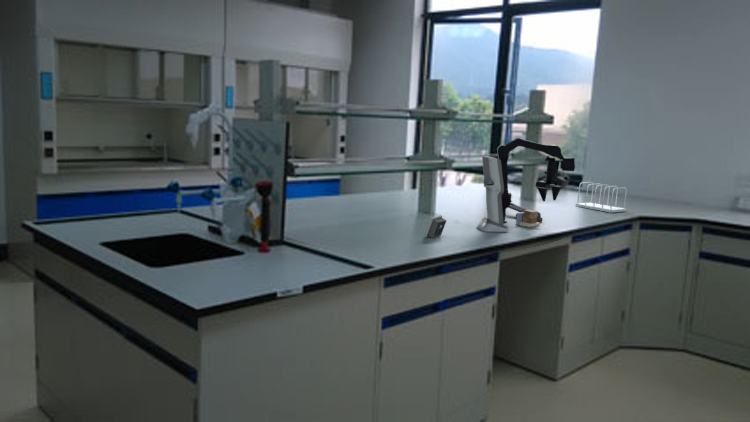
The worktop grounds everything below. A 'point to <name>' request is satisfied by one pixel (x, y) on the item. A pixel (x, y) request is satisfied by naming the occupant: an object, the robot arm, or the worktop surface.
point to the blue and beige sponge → (520, 222)
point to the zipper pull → (519, 209)
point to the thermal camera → (493, 196)
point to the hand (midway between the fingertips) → (549, 200)
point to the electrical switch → (435, 227)
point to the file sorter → (601, 206)
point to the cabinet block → (530, 216)
